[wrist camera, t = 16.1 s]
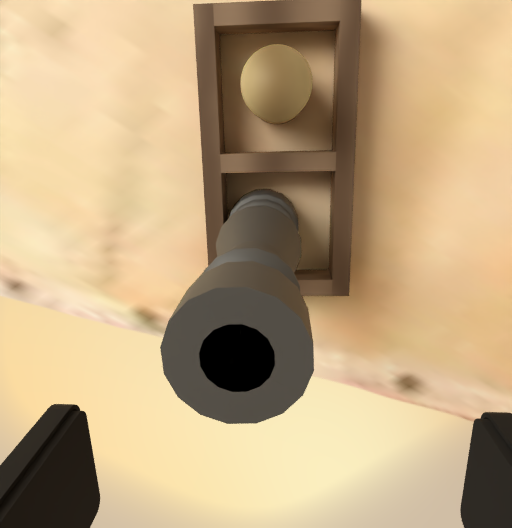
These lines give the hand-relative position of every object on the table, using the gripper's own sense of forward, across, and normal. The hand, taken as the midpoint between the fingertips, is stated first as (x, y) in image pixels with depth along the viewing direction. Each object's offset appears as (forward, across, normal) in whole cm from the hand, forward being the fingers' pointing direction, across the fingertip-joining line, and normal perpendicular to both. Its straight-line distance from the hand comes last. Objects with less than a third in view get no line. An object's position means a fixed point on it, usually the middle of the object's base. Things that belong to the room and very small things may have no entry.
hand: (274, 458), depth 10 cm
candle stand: (+30, 0, -5) cm, 31 cm away
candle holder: (+31, +2, +1) cm, 31 cm away
